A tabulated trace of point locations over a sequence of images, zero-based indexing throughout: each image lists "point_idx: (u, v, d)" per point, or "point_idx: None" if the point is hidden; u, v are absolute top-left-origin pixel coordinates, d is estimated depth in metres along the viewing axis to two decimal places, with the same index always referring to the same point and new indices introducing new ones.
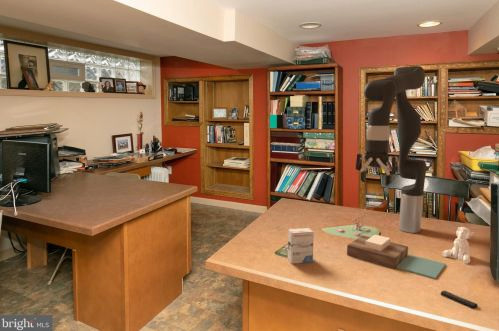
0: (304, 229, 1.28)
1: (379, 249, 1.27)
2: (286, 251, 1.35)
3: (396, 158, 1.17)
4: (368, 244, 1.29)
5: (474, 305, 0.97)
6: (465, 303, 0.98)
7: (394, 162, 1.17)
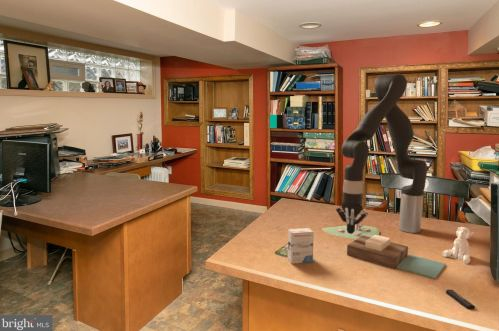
0: (304, 229, 1.28)
1: (379, 249, 1.27)
2: (286, 251, 1.35)
3: None
4: (368, 244, 1.29)
5: (469, 306, 0.96)
6: (462, 302, 0.98)
7: (362, 218, 1.33)
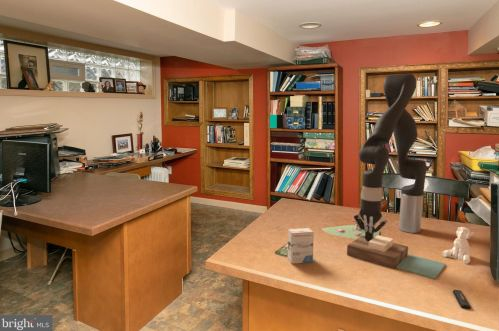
0: (304, 229, 1.28)
1: (382, 250, 1.26)
2: (286, 251, 1.35)
3: (385, 223, 1.28)
4: (371, 245, 1.29)
5: (463, 305, 0.97)
6: (459, 302, 0.99)
7: (381, 226, 1.28)
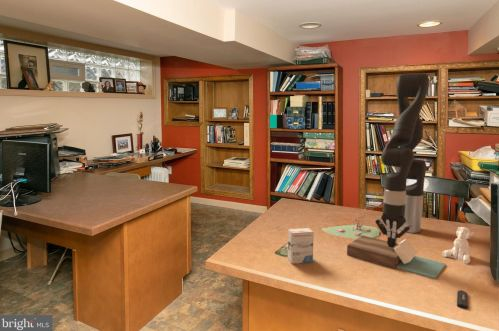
0: (304, 229, 1.28)
1: (404, 262, 1.22)
2: (286, 251, 1.36)
3: (409, 228, 1.23)
4: (398, 251, 1.22)
5: (459, 304, 0.97)
6: (457, 301, 0.99)
7: (405, 231, 1.23)
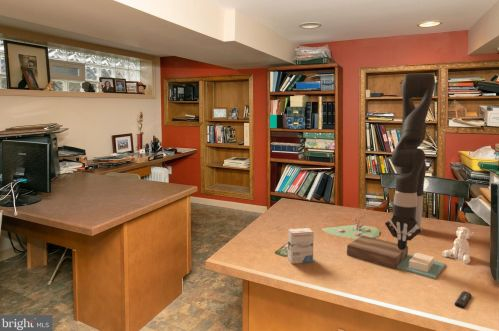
0: (304, 229, 1.28)
1: (410, 262, 1.20)
2: (286, 251, 1.36)
3: (420, 231, 1.20)
4: (423, 267, 1.18)
5: (457, 303, 0.98)
6: None
7: (416, 233, 1.20)
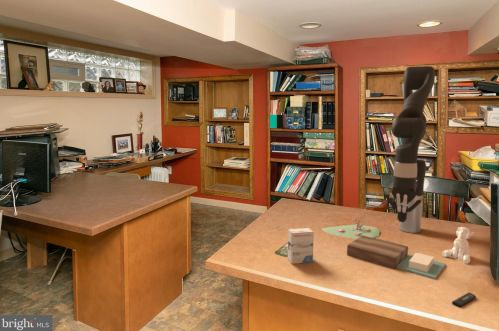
0: (304, 229, 1.28)
1: (410, 262, 1.20)
2: (286, 251, 1.36)
3: (421, 202, 1.19)
4: (423, 267, 1.18)
5: (454, 301, 0.99)
6: (456, 299, 1.00)
7: (416, 204, 1.19)
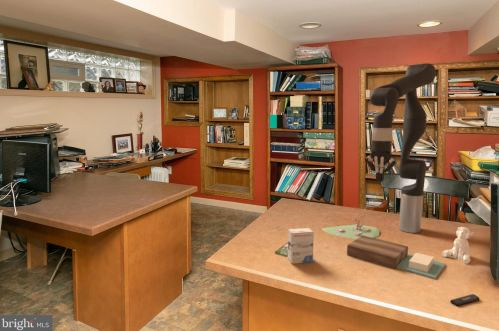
0: (304, 229, 1.28)
1: (410, 262, 1.20)
2: (286, 251, 1.36)
3: (395, 163, 1.34)
4: (423, 267, 1.18)
5: (452, 300, 0.99)
6: None
7: (392, 165, 1.34)
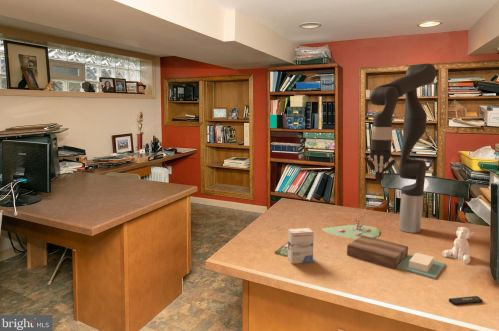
0: (304, 229, 1.28)
1: (410, 262, 1.20)
2: (286, 250, 1.36)
3: (395, 162, 1.34)
4: (423, 267, 1.18)
5: (450, 299, 1.00)
6: None
7: (391, 164, 1.34)
